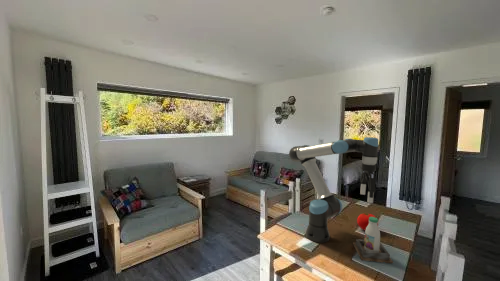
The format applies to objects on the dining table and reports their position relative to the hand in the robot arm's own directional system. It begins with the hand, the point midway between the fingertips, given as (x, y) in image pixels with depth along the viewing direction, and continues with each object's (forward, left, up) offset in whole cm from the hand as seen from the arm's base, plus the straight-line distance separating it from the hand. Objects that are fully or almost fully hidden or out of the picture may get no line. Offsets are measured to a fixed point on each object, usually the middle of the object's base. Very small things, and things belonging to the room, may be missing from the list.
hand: (366, 198), depth 129 cm
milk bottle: (+2, -6, -30) cm, 30 cm away
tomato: (+10, +22, -31) cm, 39 cm away
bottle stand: (+2, -7, -30) cm, 31 cm away
